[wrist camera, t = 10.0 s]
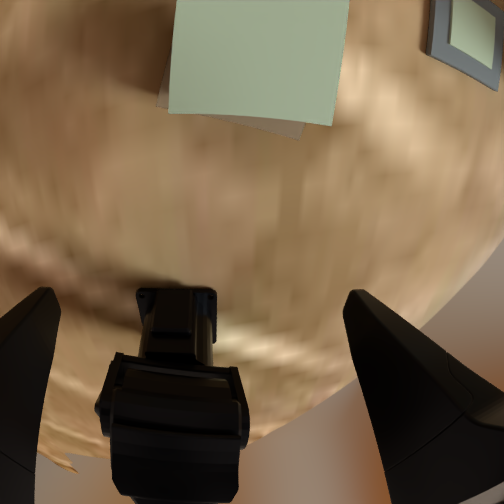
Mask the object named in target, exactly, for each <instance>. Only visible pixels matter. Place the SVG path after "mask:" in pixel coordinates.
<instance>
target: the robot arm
mask: <svg viewBox="0 0 504 504" xmlns="http://www.w3.org/2000/svg"><path fill="white" fill-rule="evenodd" d="M141 294H143V295H141ZM209 295H213V296H209ZM136 299H137V304H138V308H139V312H140V316H141V321H142V325H143V330H142V336H141V341H140V347H139V354H138V357H135V356H129V355H124V353H119V352H116V354H115V357H114V360H113V361H111V364H110V365H109V369H108V373H107V376H106V379H105V382H104V385H103V388H102V391H101V393H100V395H99V397H98V399H97V401H96V403H95V408H94V409H95V412H96V414H97V415H98V416H99V418H100V423H101V429H102V434H103V436H105V437H110V454H111V469H112V480H113V482H114V484H115V486H116V488H117V490H118V491H119V493H120V494H121V495H124V496H130V497H131V499H132V500H133V501H134V502H135V504H218V503H230V502H231V501H232V500H233V498H234V496H235V495H236V493H237V491H238V487H239V484H238V466H239V455H240V450H243V449H244V448H245V447H246V445H247V443H248V438H249V431H250V416H249V409H248V404H247V401H246V397H245V393H244V390H243V386H242V382H241V379H240V375H239V371H238V368H237V367H232V366H230V367H216V366H213V345H212V344H214V343H215V342H216V332H217V292H216V291H215V290H213V289H160V288H139V289H138V290H137V292H136ZM60 316H61V309H60V305H59V303H58V300H57V298H56V295H55V293H54V290H53V289H52V288H51V287H39V288H38V289H37V290H35V291H34V292H33V293H31V294H30V295H29V296H27V297H26V298H25V299H24V300H22V301H21V302H20V303H18V304H17V305H16V306H15V307H13V308H12V309H11V310H10V311H8V312H7V313H6V314H5V315H4V316H2V317H1V318H0V504H34V490H35V467H36V455H37V445H38V436H39V428H40V422H41V415H42V409H43V403H44V398H45V393H46V388H47V383H48V378H49V374H50V369H51V365H52V361H53V356H54V350H55V344H56V338H57V332H58V326H59V321H60ZM343 319H344V324H345V328H346V333H347V337H348V342H349V347H350V352H351V356H352V360H353V363H354V367H355V370H356V373H357V376H358V379H359V383H360V386H361V389H362V392H363V396H364V399H365V402H366V406H367V409H368V413H369V416H370V419H371V423H372V427H373V430H374V434H375V438H376V441H377V445H378V449H379V453H380V456H381V460H382V464H383V468H384V471H385V472H384V473H385V477H386V481H387V486H388V490H389V494H390V498H391V503H392V504H504V392H503V391H501V390H500V389H498V388H497V387H495V386H494V385H492V384H491V383H489V382H488V381H486V380H485V379H483V378H482V377H480V376H479V375H478V374H476V373H474V372H473V371H472V370H470V369H469V368H467V367H466V366H465V365H463V364H462V363H461V362H460V361H458V360H457V359H456V358H454V357H453V356H452V355H451V354H449V353H448V352H447V353H446V351H445V350H444V349H443V348H441V347H440V346H439V345H438V344H436V343H435V342H434V341H432V340H431V339H430V338H429V337H427V336H426V335H424V334H423V333H422V332H421V331H419V330H418V329H417V328H415V327H414V326H413V325H411V324H410V323H409V322H407V321H406V320H405V319H403V318H402V317H401V316H399V315H398V314H397V313H395V312H394V311H393V310H391V309H390V308H389V307H387V306H386V305H385V304H383V303H382V302H380V301H379V300H378V299H376V298H375V297H374V296H372V295H371V294H370V293H368V292H367V291H365V290H363V289H355V290H351V291H350V293H349V295H348V298H347V300H346V303H345V306H344V308H343Z"/></svg>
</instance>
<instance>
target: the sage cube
mask: <svg viewBox="0 0 504 504" xmlns="http://www.w3.org/2000/svg"><path fill="white" fill-rule="evenodd" d="M349 1H350V0H177V4H176V12H175V21H174V31H173V42H172V54H171V68H170V86H169V110H168V114H219V115H238V116H252V117H264V118H274V119H284V120H292V121H300V122H308V123H315V124H321V125H328V126H332V120H333V114H334V109H335V103H336V97H337V90H338V84H339V78H340V71H341V64H342V57H343V50H344V43H345V35H346V27H347V19H348V10H349Z"/></svg>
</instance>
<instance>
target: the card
mask: <svg viewBox="0 0 504 504" xmlns="http://www.w3.org/2000/svg"><path fill="white" fill-rule="evenodd" d="M503 40H504V12H503V11H502V10H501V9H500V8H499V7H497V6H496V5H495V4H494V3H492V2H491V1H490V0H431V3H430V18H429V30H428V40H427V49H426V55H428V56H430V57H432V58H434V59H437V60H439V61H441V62H443V63H445V64H447V65H449V66H451V67H453V68H455V69H457V70H459V71H461V72H462V73H464V74H466V75H468V76H470V77H472V78H473V79H475V80H477V81H478V82H480V83H482V84H484V85H485V86H487V87H488V88H490V89H492V90H494V91H497V92H498V87H499V80H500V72H501V64H502V53H503Z"/></svg>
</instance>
